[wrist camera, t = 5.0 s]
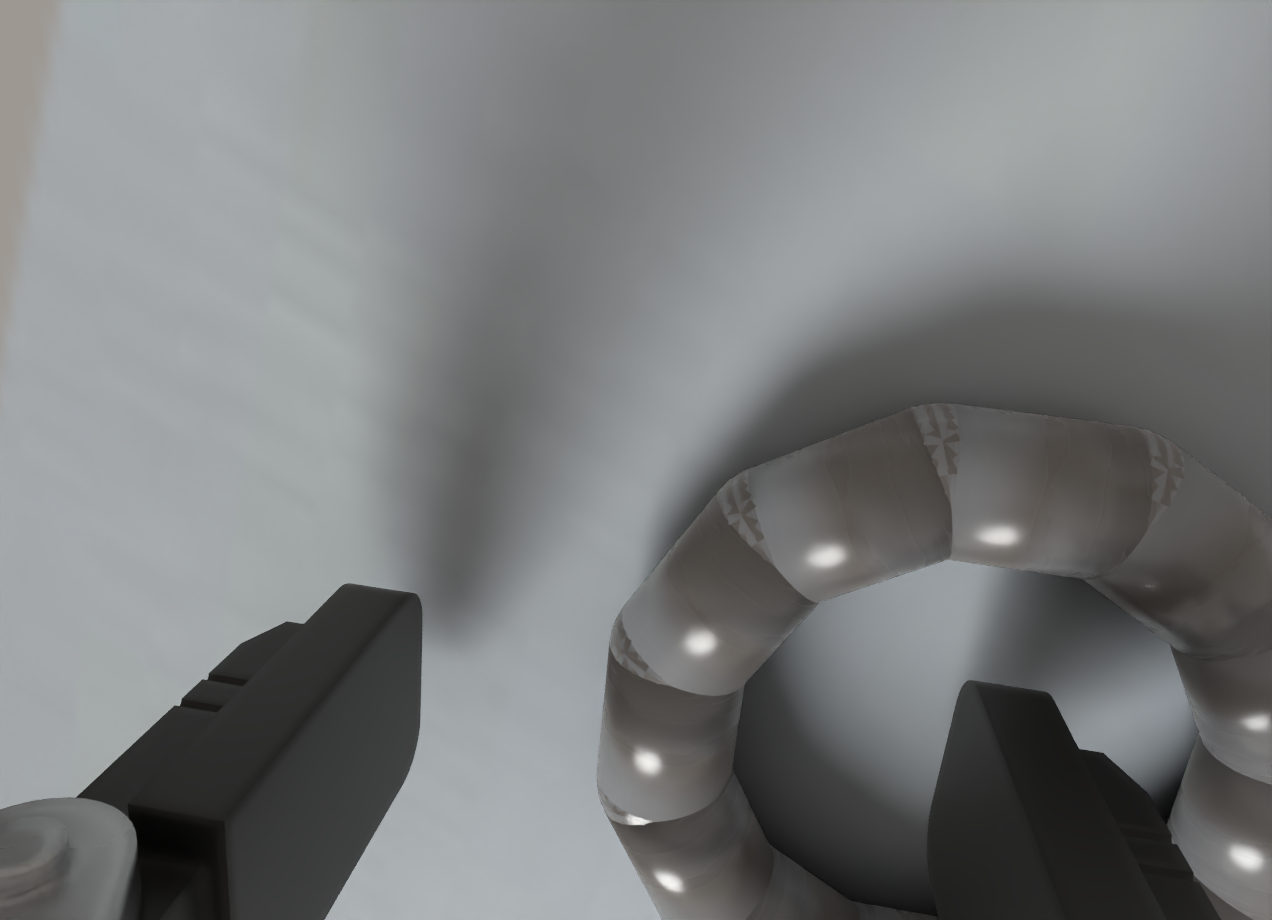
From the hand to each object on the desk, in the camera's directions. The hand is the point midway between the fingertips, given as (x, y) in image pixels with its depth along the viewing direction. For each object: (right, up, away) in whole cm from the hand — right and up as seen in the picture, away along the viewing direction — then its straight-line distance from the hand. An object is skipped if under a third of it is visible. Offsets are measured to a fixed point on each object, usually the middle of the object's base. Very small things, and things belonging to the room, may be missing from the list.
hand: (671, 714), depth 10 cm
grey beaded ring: (+3, 0, 0) cm, 3 cm away
